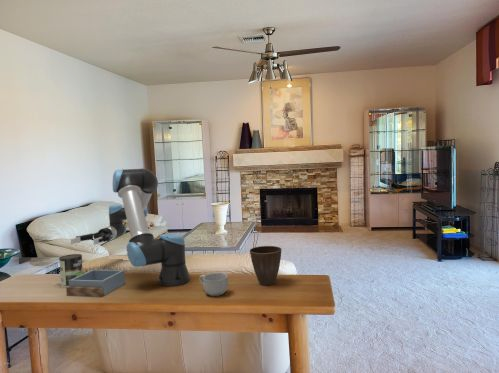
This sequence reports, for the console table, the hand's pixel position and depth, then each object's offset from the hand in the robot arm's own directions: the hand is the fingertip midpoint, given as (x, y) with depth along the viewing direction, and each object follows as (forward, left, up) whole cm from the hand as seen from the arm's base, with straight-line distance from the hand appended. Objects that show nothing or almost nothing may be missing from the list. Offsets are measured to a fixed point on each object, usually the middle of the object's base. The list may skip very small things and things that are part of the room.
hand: (82, 241), depth 194 cm
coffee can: (0, +10, -19) cm, 22 cm away
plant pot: (-97, -1, -19) cm, 99 cm away
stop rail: (-19, +25, -19) cm, 37 cm away
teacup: (-76, +15, -19) cm, 80 cm away
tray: (-19, +16, -19) cm, 31 cm away
